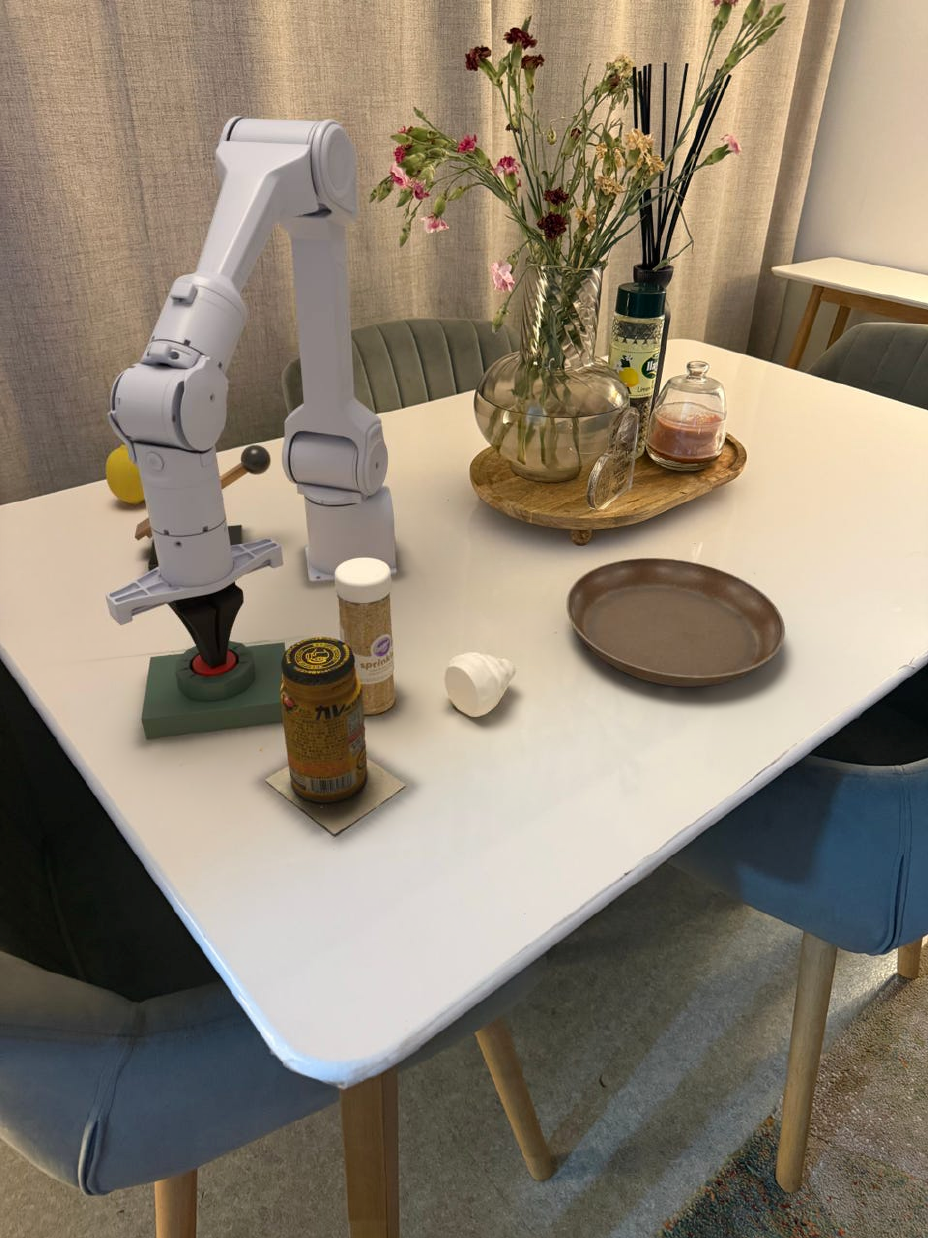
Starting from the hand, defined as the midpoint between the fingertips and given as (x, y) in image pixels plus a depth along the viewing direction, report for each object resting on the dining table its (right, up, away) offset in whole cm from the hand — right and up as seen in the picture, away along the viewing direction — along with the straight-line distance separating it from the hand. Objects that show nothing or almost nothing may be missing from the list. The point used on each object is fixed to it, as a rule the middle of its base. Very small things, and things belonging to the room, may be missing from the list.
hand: (214, 661), depth 77 cm
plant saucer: (+42, +2, +11) cm, 43 cm away
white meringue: (+24, -4, +2) cm, 24 cm away
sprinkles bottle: (+13, -4, +2) cm, 14 cm away
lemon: (-19, +18, +35) cm, 44 cm away
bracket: (-9, +11, +25) cm, 28 cm away
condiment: (+12, -10, -7) cm, 16 cm away
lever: (-6, +16, +22) cm, 28 cm away
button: (0, -1, +1) cm, 2 cm away
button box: (0, -3, +2) cm, 4 cm away
